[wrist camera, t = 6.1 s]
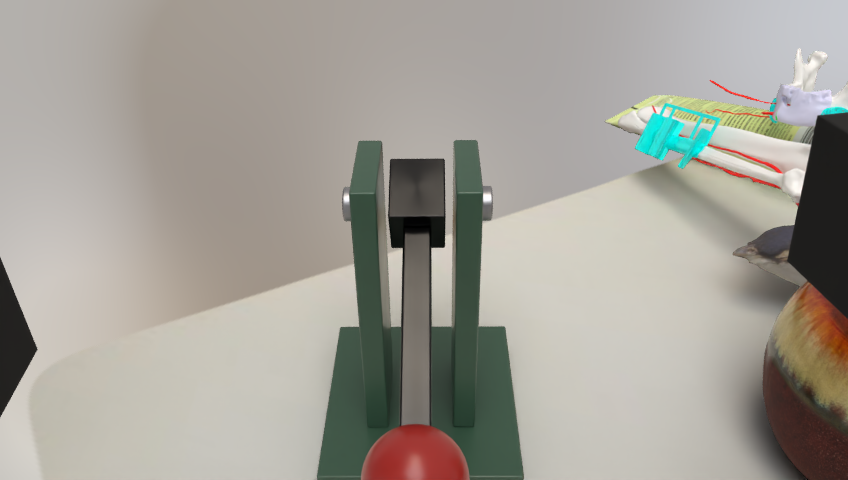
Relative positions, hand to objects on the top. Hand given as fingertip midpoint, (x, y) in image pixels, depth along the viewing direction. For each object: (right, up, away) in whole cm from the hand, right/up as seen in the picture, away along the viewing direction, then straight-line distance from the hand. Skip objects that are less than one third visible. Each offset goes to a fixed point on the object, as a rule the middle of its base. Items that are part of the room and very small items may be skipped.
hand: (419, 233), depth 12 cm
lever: (0, -4, +17) cm, 17 cm away
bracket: (0, -9, +25) cm, 26 cm away
